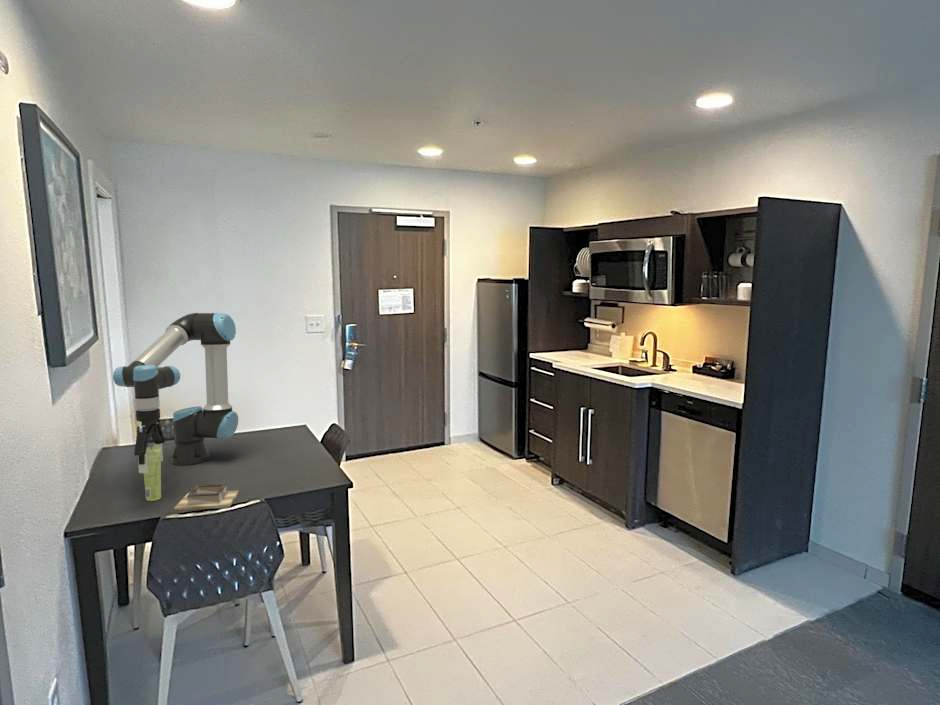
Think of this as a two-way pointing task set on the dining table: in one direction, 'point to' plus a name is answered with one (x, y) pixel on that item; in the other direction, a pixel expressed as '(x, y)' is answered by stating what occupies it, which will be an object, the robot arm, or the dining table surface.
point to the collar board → (207, 497)
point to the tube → (153, 474)
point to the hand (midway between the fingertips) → (151, 466)
